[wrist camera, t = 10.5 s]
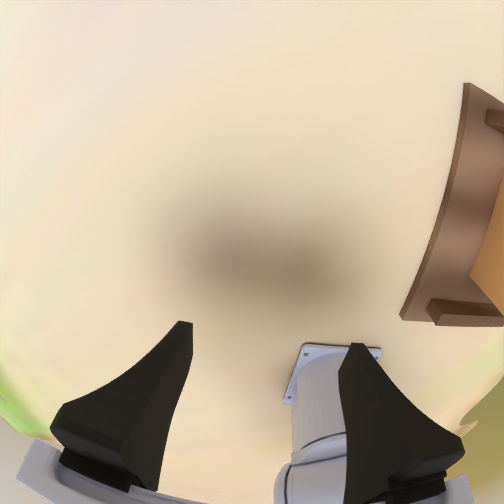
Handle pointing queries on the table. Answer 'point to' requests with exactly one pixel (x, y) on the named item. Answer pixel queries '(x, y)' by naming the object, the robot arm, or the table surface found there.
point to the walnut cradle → (463, 222)
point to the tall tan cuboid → (492, 256)
